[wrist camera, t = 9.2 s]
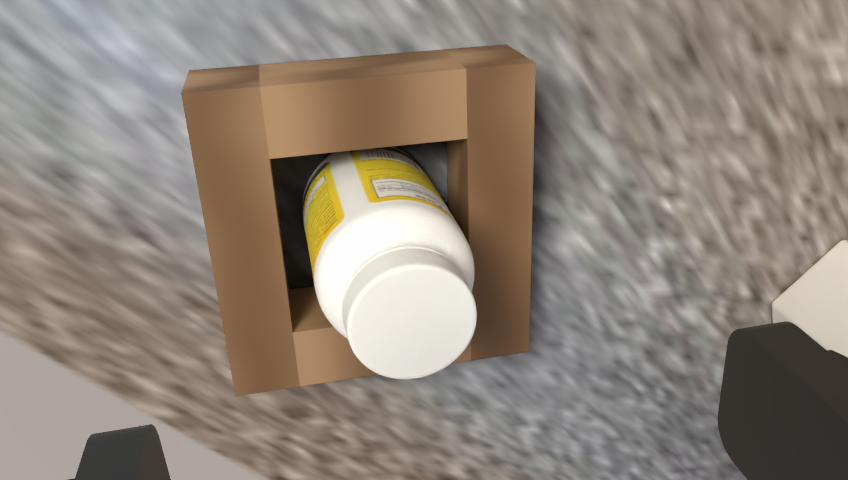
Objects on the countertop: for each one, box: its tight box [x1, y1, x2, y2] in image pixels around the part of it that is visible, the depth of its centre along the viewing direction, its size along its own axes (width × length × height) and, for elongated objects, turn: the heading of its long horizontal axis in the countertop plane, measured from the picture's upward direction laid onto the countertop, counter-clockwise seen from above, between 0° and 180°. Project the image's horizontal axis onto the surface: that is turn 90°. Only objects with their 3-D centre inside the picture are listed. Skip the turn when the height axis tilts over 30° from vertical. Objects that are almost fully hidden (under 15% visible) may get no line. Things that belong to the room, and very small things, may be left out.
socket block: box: [181, 45, 536, 396], centre depth 30 cm, size 12×12×4 cm
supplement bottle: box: [302, 146, 477, 379], centre depth 27 cm, size 5×5×10 cm
